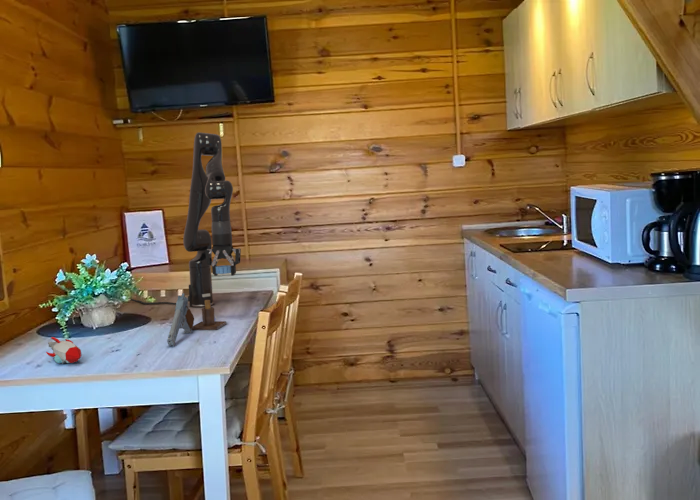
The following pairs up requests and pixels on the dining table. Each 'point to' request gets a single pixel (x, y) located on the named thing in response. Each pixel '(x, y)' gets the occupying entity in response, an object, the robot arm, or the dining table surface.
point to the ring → (223, 269)
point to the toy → (64, 351)
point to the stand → (208, 319)
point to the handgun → (181, 319)
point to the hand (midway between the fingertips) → (224, 275)
